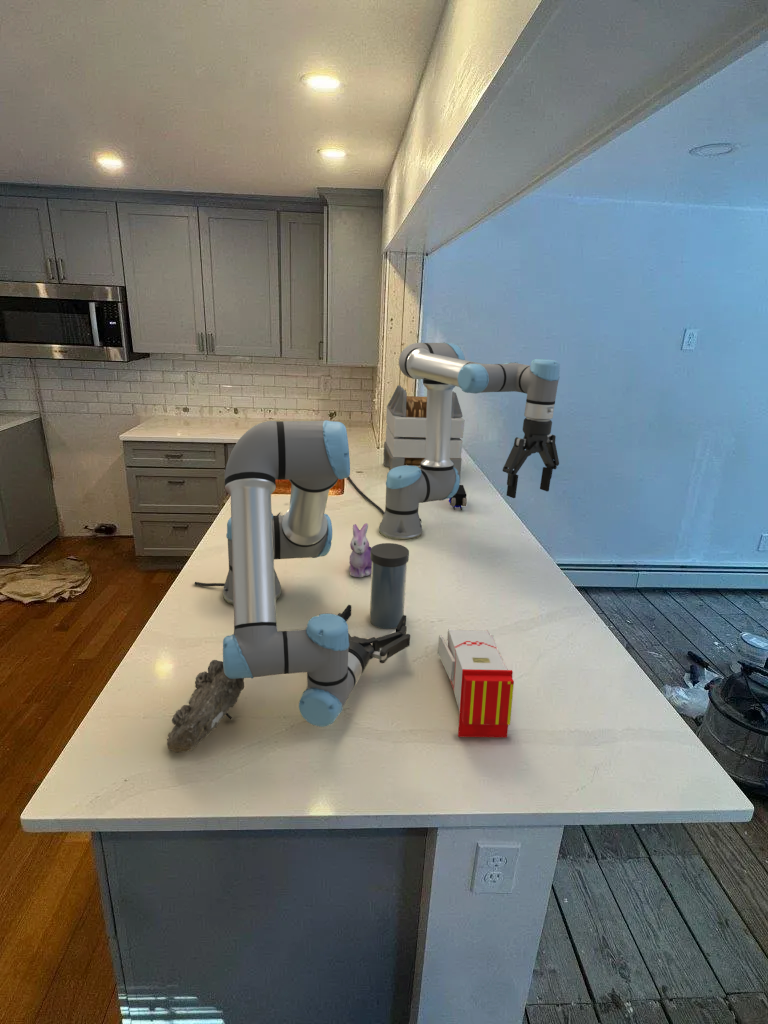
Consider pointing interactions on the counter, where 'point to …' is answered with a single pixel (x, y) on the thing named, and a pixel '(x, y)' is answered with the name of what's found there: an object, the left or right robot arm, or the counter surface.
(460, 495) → the figurine character
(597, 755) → the counter surface
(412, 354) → the right robot arm
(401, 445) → the white slatted crate
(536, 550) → the counter surface
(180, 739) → the fossil
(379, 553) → the lid
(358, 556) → the figurine
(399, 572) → the jar
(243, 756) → the counter surface
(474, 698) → the toy
